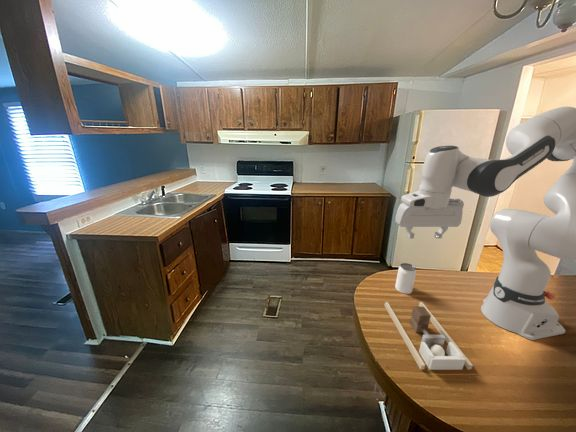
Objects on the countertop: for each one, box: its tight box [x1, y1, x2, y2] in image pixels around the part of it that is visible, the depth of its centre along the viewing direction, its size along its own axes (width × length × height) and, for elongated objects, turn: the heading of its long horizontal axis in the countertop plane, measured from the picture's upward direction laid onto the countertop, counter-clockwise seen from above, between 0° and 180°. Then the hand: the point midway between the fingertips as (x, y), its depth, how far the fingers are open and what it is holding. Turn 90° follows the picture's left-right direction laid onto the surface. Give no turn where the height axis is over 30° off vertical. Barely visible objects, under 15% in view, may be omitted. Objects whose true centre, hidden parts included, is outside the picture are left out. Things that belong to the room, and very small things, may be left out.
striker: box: [409, 306, 446, 349], centre depth 73 cm, size 6×10×7 cm, turn 0°
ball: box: [430, 344, 446, 356], centre depth 67 cm, size 4×4×4 cm
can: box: [394, 262, 417, 295], centre depth 94 cm, size 6×6×12 cm
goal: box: [418, 341, 466, 371], centre depth 65 cm, size 9×6×4 cm, turn 90°
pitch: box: [384, 301, 474, 371], centre depth 75 cm, size 14×25×3 cm, turn 0°
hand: (423, 237), depth 78 cm, fingers open, 8 cm apart
